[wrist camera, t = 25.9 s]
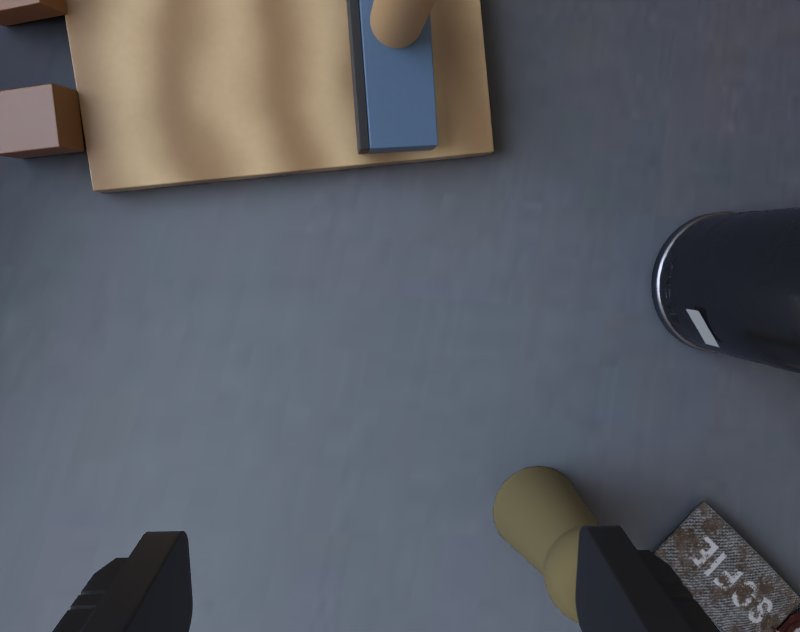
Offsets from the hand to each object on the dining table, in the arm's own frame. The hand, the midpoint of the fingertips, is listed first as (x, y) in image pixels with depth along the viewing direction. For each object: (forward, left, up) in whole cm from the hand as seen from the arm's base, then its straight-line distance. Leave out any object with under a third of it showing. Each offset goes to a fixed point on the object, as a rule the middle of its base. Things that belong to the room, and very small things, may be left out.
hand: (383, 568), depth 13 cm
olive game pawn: (-12, +13, -29) cm, 34 cm away
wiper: (-5, -19, -28) cm, 34 cm away
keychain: (-28, +23, -29) cm, 47 cm away
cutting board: (+1, -19, -29) cm, 35 cm away
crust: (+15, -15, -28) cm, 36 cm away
